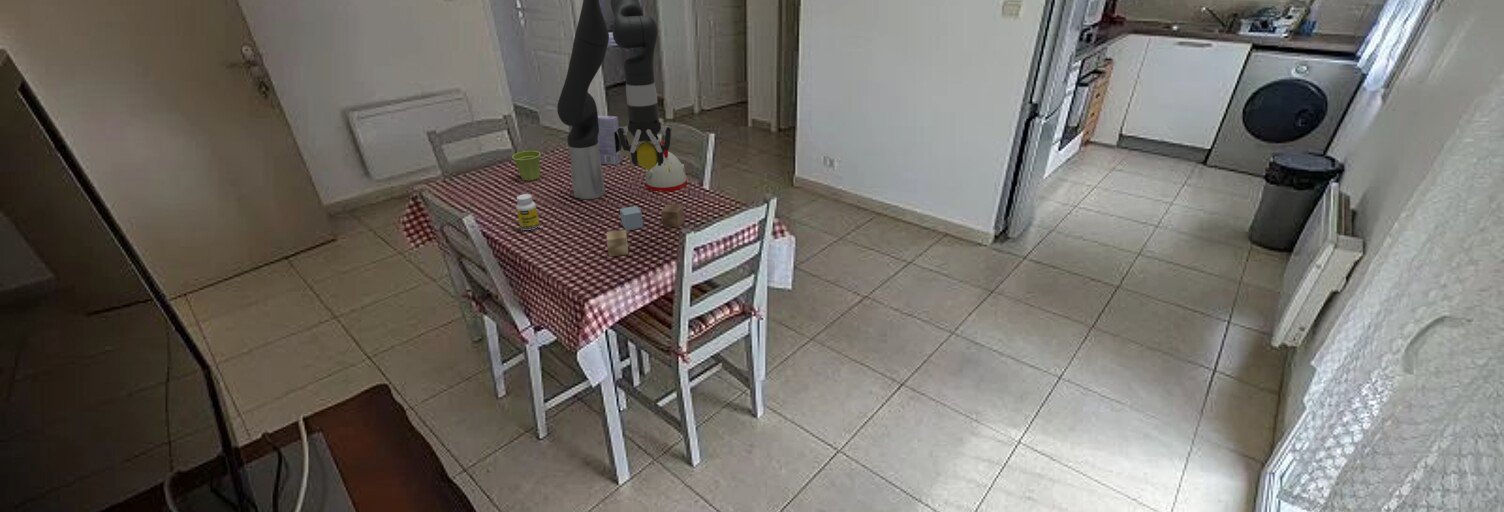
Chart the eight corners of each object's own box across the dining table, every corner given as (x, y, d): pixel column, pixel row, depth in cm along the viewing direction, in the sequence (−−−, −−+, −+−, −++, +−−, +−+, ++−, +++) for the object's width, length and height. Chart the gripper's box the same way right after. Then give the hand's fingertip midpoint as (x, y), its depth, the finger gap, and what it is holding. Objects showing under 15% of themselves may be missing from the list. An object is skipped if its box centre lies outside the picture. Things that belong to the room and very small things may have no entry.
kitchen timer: (652, 194, 196) (647, 150, 189) (641, 181, 207) (637, 139, 200) (692, 188, 201) (689, 144, 194) (679, 175, 212) (676, 133, 205)
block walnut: (662, 226, 174) (661, 211, 172) (668, 219, 178) (667, 204, 176) (678, 228, 173) (677, 212, 171) (684, 221, 177) (683, 205, 175)
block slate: (626, 231, 172) (624, 215, 170) (621, 224, 176) (619, 208, 174) (643, 227, 174) (641, 211, 171) (638, 221, 178) (636, 205, 175)
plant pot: (540, 183, 207) (535, 159, 203) (513, 183, 207) (507, 159, 203) (548, 173, 215) (544, 150, 211) (522, 174, 215) (517, 150, 211)
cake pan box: (625, 161, 226) (619, 115, 218) (620, 165, 222) (614, 118, 213) (578, 158, 229) (570, 113, 221) (572, 163, 225) (564, 116, 217)
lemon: (661, 167, 161) (658, 138, 157) (656, 174, 156) (653, 144, 152) (641, 166, 161) (638, 137, 157) (635, 173, 156) (632, 144, 152)
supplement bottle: (522, 233, 172) (515, 201, 167) (519, 225, 176) (512, 195, 171) (541, 229, 174) (535, 197, 169) (538, 222, 178) (532, 191, 173)
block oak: (609, 256, 158) (606, 239, 156) (609, 248, 162) (607, 231, 160) (628, 254, 159) (625, 238, 157) (628, 246, 163) (625, 229, 161)
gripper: (610, 105, 146) (618, 170, 154) (668, 104, 146) (674, 169, 154) (616, 98, 153) (623, 160, 161) (672, 97, 153) (677, 160, 161)
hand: (648, 164), depth 158 cm, fingers closed on lemon, 5 cm apart
